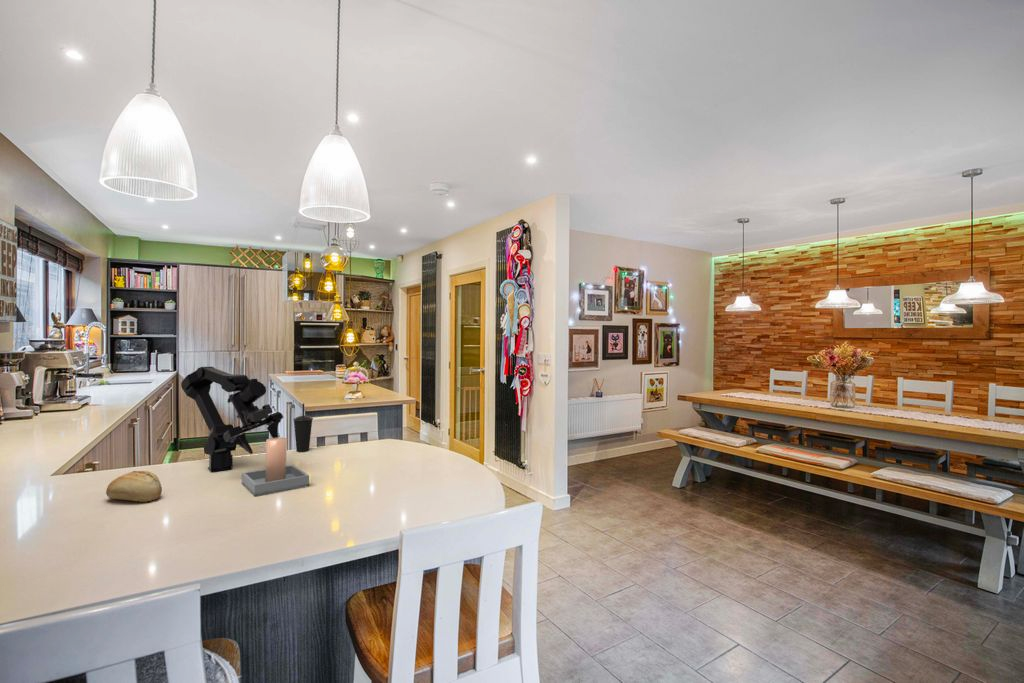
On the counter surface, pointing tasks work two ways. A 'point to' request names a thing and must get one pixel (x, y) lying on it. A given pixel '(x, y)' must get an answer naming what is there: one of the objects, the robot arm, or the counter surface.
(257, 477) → the tray
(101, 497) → the counter surface
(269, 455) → the canister
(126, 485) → the bread roll
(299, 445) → the drinking cup
